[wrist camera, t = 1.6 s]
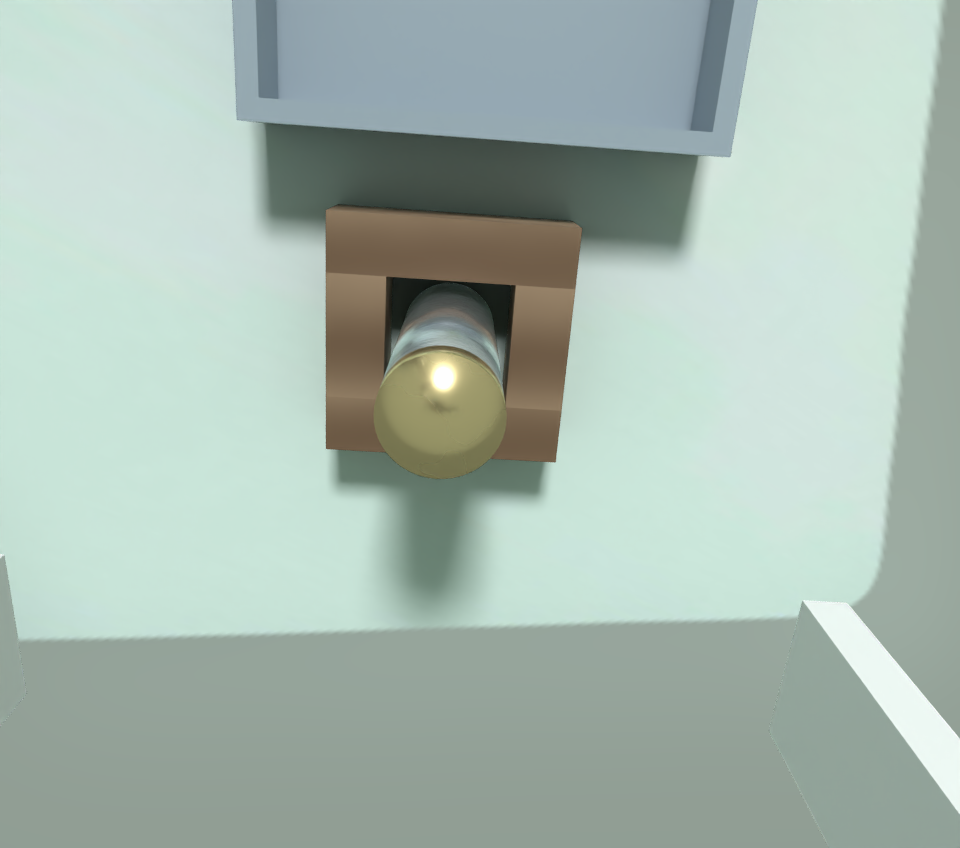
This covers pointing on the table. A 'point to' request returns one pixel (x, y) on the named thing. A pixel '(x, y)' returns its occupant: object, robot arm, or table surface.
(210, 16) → the table surface
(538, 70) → the tray
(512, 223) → the socket block
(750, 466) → the table surface
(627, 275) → the table surface
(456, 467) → the pin
